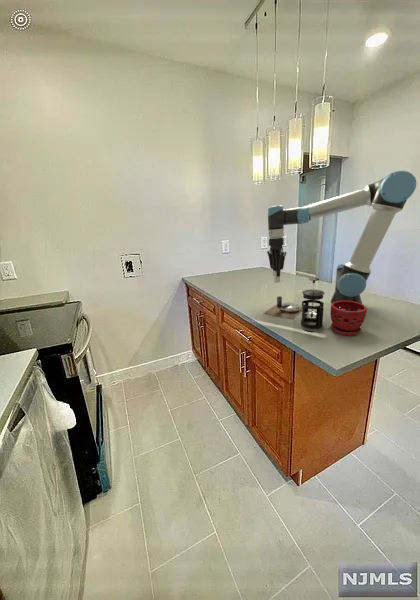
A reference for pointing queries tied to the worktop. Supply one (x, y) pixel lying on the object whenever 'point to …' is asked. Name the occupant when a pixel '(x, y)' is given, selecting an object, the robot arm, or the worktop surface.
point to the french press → (310, 315)
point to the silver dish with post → (287, 306)
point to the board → (282, 313)
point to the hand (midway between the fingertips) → (277, 282)
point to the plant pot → (347, 317)
